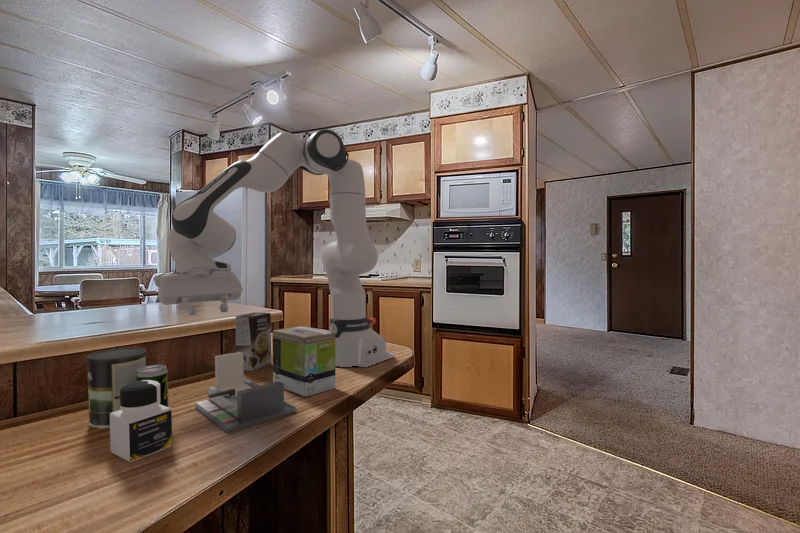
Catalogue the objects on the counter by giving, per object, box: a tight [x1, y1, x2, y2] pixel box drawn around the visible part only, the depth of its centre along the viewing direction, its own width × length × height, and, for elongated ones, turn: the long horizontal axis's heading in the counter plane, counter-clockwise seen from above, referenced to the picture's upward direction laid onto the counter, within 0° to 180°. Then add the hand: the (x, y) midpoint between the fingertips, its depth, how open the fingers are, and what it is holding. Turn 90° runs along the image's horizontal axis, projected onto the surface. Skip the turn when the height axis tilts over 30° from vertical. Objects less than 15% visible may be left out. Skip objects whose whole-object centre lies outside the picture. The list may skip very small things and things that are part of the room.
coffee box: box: [235, 312, 272, 372], centre depth 126 cm, size 9×6×16 cm
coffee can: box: [86, 346, 147, 430], centre depth 87 cm, size 10×10×14 cm
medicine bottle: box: [109, 380, 173, 463], centre depth 73 cm, size 7×7×12 cm
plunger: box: [209, 351, 252, 400], centre depth 93 cm, size 10×9×10 cm
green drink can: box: [136, 364, 170, 408], centre depth 82 cm, size 5×5×12 cm
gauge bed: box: [194, 378, 297, 434], centre depth 92 cm, size 15×18×7 cm
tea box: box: [272, 325, 337, 397], centre depth 108 cm, size 15×10×15 cm
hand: (209, 312), depth 105 cm, fingers open, 6 cm apart
